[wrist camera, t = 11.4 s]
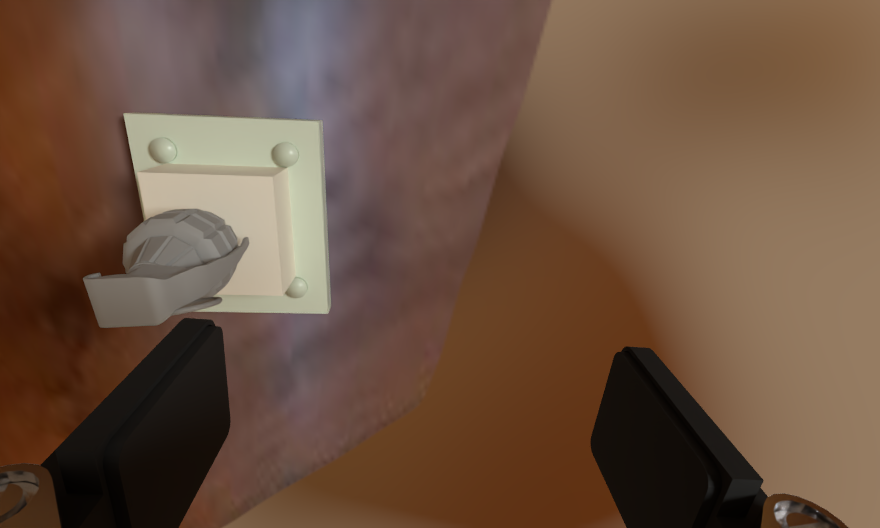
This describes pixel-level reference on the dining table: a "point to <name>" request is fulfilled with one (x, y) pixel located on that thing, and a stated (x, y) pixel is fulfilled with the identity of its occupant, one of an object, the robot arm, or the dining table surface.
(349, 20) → the dining table surface
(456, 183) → the dining table surface
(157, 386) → the robot arm
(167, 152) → the base plate
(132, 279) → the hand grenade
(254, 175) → the cream brick
